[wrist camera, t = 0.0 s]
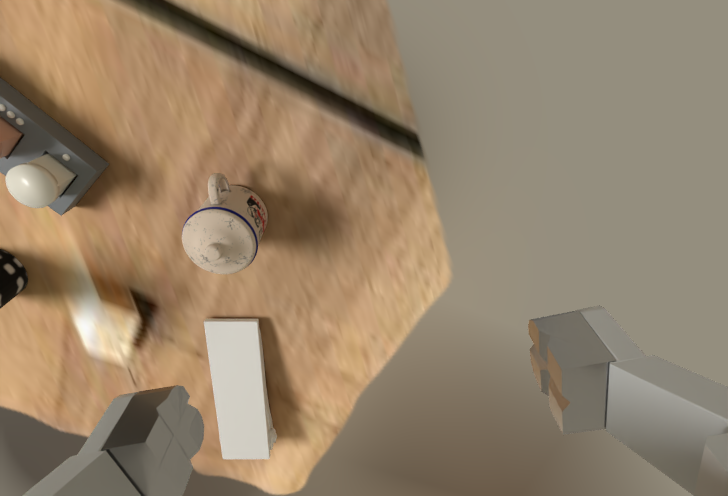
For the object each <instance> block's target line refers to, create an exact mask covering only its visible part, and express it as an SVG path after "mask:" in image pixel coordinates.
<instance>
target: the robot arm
mask: <svg viewBox="0 0 728 496" xmlns="http://www.w3.org/2000/svg"><path fill="white" fill-rule="evenodd" d="M528 328H529V335H530V337H531V339H532V341H533V343H534V344H533V346H532V347H531V348H530V356H531V364H532V368H533V372H534V375H535V378H536V380H537V383H538V385H539V387H540V389H541V392H543V393H545V394H546V395H548V396H549V404H550V410H551V412H552V414H553V416H554V418H555V420H556V422H557V424H558V426H559V428H560V430H561V432H562V434H570V433H578V432H585V431H592V430H601V429H606V431H607V432H608V433H610V434H611V435H612V436H614V437H615V438H616V439H618V440H619V441H620V442H622V443H623V444H624V445H626V446H627V447H629V448H630V449H631V450H633V451H634V452H635V453H637V454H638V455H639V456H641V457H642V458H643V459H645V460H646V461H647V462H649V463H650V464H652V465H653V466H654V467H656V468H657V469H658V470H660V471H661V472H662V473H664V474H665V475H667V476H668V477H669V478H671V479H672V480H673V481H675V482H676V483H677V484H679V485H680V486H681V487H683V488H684V489H686V490H687V491H688V492H690V493H691V494H692V495H694V496H728V387H727V386H724V385H722V384H720V383H717V382H715V381H713V380H710V379H708V378H706V377H703V376H701V375H699V374H697V373H694V372H692V371H689V370H687V369H685V368H683V367H680V366H678V365H676V364H673V363H671V362H669V361H667V360H664V359H662V358H659V357H657V356H655V355H652V356H646V355H645V354H644V353H643V352H642V351H641V350H640V349H639V347H638V346H637V345H636V344H635V343H634V341H633V340H632V339H631V338H630V337H629V336H628V334H627V333H626V332H625V331H624V330H623V329H622V328H621V326H620V325H619V324H618V323H617V322H616V321H615V320H614V318H613V317H612V316H611V315H610V314H609V313H608V312H607V310H606V309H605V308H604V307H602V306H600V305H599V306H594V307H590V308H585V309H580V310H576V311H572V312H567V313H562V314H557V315H552V316H547V317H541V318H536V319H531V320H529V324H528ZM189 397H190V396H189V394H188V393H187V391H186V390H185V388H184V387H183V386H178V385H176V386H170V387H164V388H158V389H152V390H145V391H139V392H136V393H129V394H123V395H119V396H118V397H116V398H115V399H113V401H112V402H111V404H110V405H109V407H108V409H107V410H106V412H105V413H104V415H103V416H102V418H101V419H100V421H99V422H98V424H97V426H96V427H95V429H94V430H93V432H92V433H91V435H90V436H89V438H88V439H87V441H86V443H85V444H84V446H83V447H82V449H81V450H80V452H79V453H78V455H76V456H71V457H70V458H68V459H67V460H66V461H65V462H64V463H62V464H61V465H60V466H58V467H57V468H56V469H55V470H54V471H53V472H51V473H50V474H49V475H47V476H46V477H45V478H44V479H42V480H41V481H40V482H39V483H38V484H36V485H35V486H34V487H33V488H31V489H30V490H29V491H28V492H26V493H25V494H24V495H23V496H181V495H183V493H184V491H185V488H186V485H187V483H188V480H189V477H190V474H191V472H192V469H193V466H192V463H191V461H190V459H191V458H192V457H193V456H194V455H195V454H196V453H197V452H198V451H199V450H200V447H201V444H202V441H203V437H204V424H203V420H202V416H201V414H200V413H199V411H198V409H196V408H195V407H193V406H191V405H189V404H188V401H189Z"/></svg>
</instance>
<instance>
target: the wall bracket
mask: <svg viewBox="0 0 728 496" xmlns="http://www.w3.org/2000/svg"><path fill="white" fill-rule="evenodd" d="M204 327H205V334H206V341H207V348H208V356H209V363H210V370H211V377H212V384H213V392H214V399H215V406H216V413H217V420H218V428H219V435H220V442H221V449H222V456H223V459H270V450H272V449H273V444H274V443H276V439H277V434H276V430H275V429H274V428H273V424H272V418H271V413H270V408H269V402H268V396H267V388H266V379H265V368H264V357H263V347H262V339H261V332H260V329H259V320H258V319H205V320H204Z"/></svg>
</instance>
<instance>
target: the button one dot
mask: <svg viewBox="0 0 728 496" xmlns="http://www.w3.org/2000/svg"><path fill="white" fill-rule="evenodd" d="M76 176H77V174H76V173H74V172H73V171H72V170H70V169H69V168H68V167H66V166H65V165H64V164H63V163H61V162H60V161H59V160H57V159H56V158H55V157H53V156H52V155H51V154H49V153H48V154H46V155H43V156H41V157H39V158H37V159H34V160H32V161H30V162H28V163H23V164H20V165H18V166H15V167H13V168H11V169H10V170H9V171H8V173H7V175H6V185H7V188H8V190H9V192H10V193H11V195H12V196H13V197H14V198H15V199H16V200H17V201H19V202H20V203H22V204H24V205H26V206H28V207H32V208H43V207H46V206H48V205H49V204H51V203H52V202H54V201H55V200H56V199H57V198H58V196H59V195H61V194H62V193H63V192H64V191H65V189H66V188H67V187H68V186H69V184H70V183H71V182H72V181H73V179H74V178H75V177H76Z"/></svg>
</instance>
